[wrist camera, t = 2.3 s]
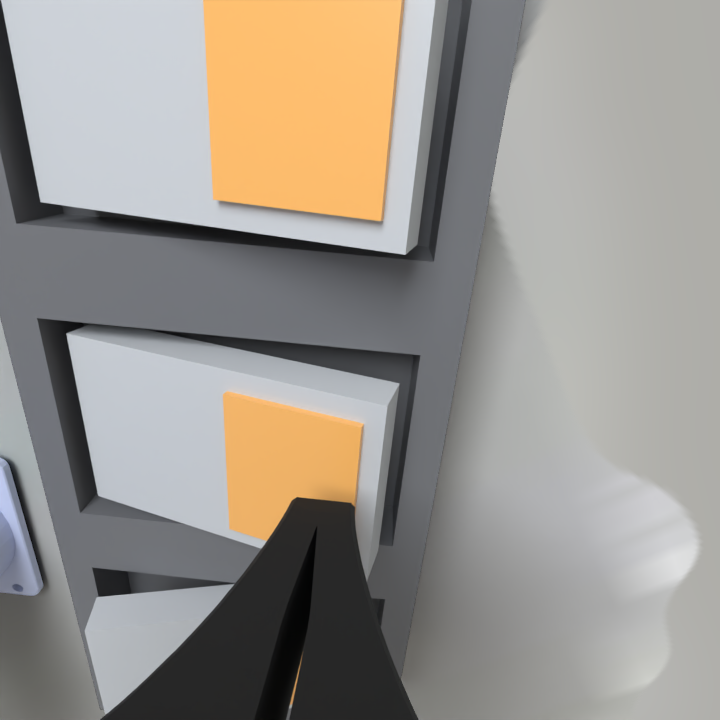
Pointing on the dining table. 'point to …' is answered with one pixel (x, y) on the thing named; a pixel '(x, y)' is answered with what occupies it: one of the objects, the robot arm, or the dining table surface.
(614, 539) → the dining table surface
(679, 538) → the dining table surface
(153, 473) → the outlet rocker
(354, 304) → the power strip
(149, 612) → the outlet rocker
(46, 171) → the rocker outlet
